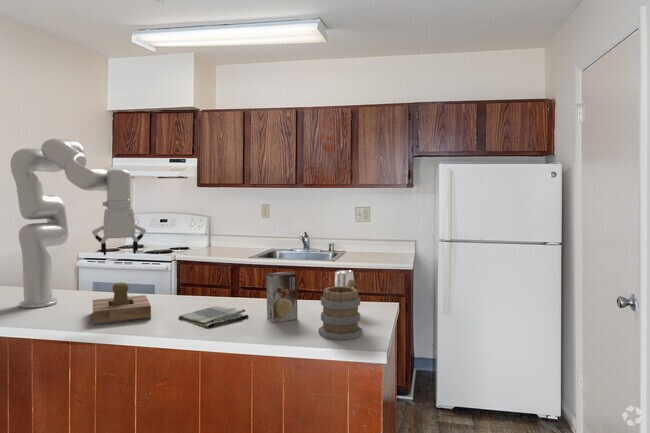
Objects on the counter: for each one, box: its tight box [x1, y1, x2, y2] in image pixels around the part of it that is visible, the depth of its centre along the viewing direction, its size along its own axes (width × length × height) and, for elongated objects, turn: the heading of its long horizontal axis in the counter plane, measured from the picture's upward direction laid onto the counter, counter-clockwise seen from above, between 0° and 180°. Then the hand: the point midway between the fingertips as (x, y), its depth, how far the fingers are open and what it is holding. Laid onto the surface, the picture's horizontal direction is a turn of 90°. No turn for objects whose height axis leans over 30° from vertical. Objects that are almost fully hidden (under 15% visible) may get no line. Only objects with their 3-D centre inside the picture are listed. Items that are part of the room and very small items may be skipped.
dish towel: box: [178, 305, 249, 329], centre depth 166 cm, size 19×18×3 cm
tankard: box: [318, 280, 363, 341], centre depth 152 cm, size 20×13×15 cm, turn 157°
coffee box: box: [266, 271, 298, 323], centre depth 165 cm, size 9×6×16 cm
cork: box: [112, 282, 129, 306], centre depth 168 cm, size 6×6×11 cm
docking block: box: [92, 294, 152, 326], centre depth 168 cm, size 18×18×5 cm
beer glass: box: [334, 269, 355, 288], centre depth 175 cm, size 7×7×15 cm
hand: (119, 253), depth 167 cm, fingers open, 9 cm apart
